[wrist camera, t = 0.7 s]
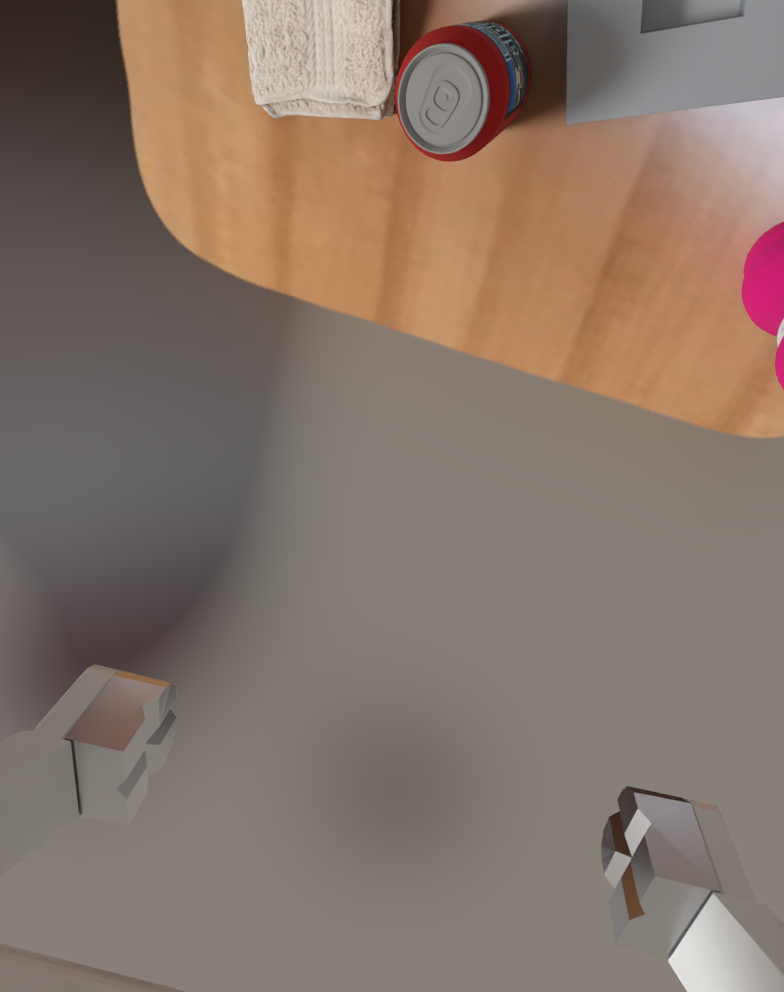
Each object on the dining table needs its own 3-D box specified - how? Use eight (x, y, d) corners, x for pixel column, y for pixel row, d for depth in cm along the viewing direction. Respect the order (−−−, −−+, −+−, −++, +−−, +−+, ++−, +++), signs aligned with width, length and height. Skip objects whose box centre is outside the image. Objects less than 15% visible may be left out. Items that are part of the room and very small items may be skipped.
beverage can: (553, 62, 42) (526, 81, 33) (493, 154, 46) (455, 191, 38) (475, -5, 41) (426, -4, 32) (422, 94, 45) (365, 119, 37)
